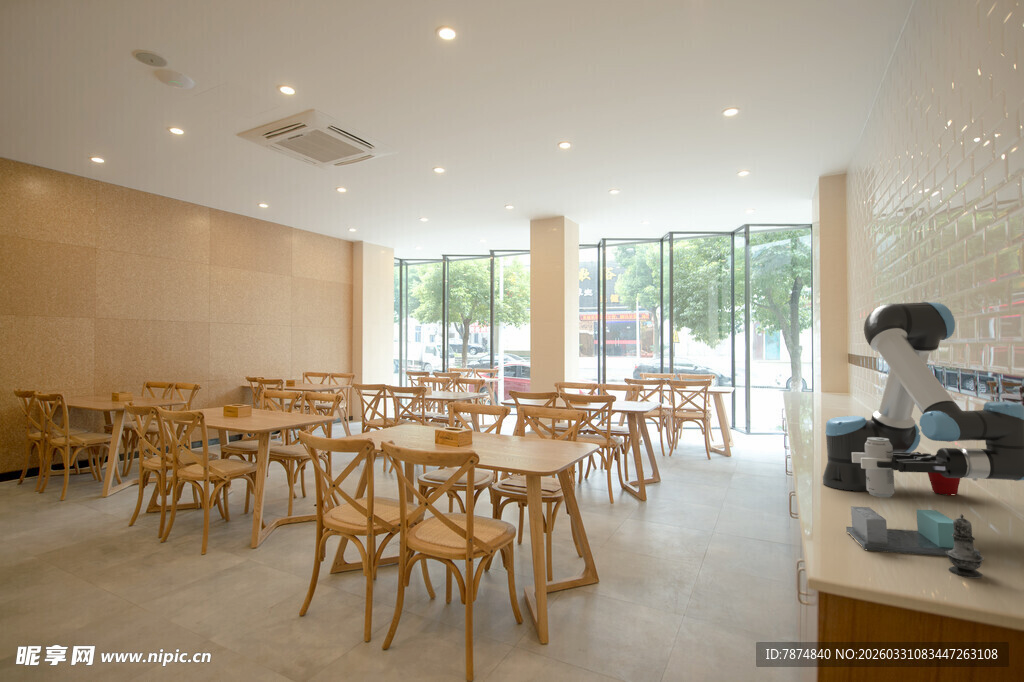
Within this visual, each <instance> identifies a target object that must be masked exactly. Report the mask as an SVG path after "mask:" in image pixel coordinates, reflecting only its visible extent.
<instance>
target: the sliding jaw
mask: <svg viewBox="0 0 1024 682" xmlns="http://www.w3.org/2000/svg"><path fill="white" fill-rule="evenodd" d="M954 520H955V519H952V518H950V517H948V516H947V515H944V513H941V512H940V511H938V510H935V509H934V510H933V509H919V508H918V509H916V521H917V522H916V523H917V531H918V532H919V533H920V534H922V535H923V536H924V537H926V538H927V539H929V540H930V541H932V542H933V543H934V544H936V545H937V546H939V547H946V548H954V537H953V536H952V534H954V526H953V521H954Z"/></svg>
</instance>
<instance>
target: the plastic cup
mask: <svg viewBox="0 0 1024 682" xmlns="http://www.w3.org/2000/svg"><path fill="white" fill-rule="evenodd" d="M935 455H936V454H931V456H935ZM927 476H928V479H929V482H930V485H931V489H932V491H934V492H935V493H934V492H933V493H934V494H937V493H939V494H938V495H941V494H947V495H946V496H952V495H951V494H957V495H958V493H959V485H960V480H961V478H946V477H944V476H942V475H941V474H940V473H927Z"/></svg>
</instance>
